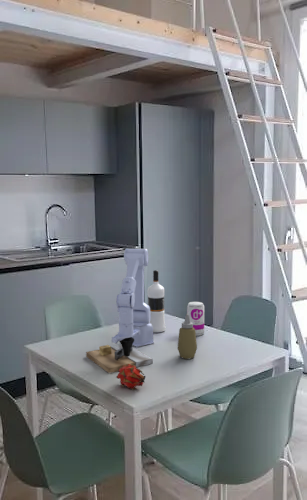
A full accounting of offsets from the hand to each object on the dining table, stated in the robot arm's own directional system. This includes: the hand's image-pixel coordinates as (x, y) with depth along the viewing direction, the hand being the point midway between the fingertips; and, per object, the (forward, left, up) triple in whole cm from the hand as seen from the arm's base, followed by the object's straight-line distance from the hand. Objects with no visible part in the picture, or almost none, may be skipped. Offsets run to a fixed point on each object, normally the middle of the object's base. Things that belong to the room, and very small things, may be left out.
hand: (126, 355), depth 193 cm
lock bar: (0, -3, 0) cm, 3 cm away
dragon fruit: (+10, +22, -3) cm, 24 cm away
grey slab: (+1, -4, -3) cm, 5 cm away
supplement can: (-46, -16, -3) cm, 49 cm away
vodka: (-33, -31, -3) cm, 46 cm away
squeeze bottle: (-24, +8, -3) cm, 26 cm away
